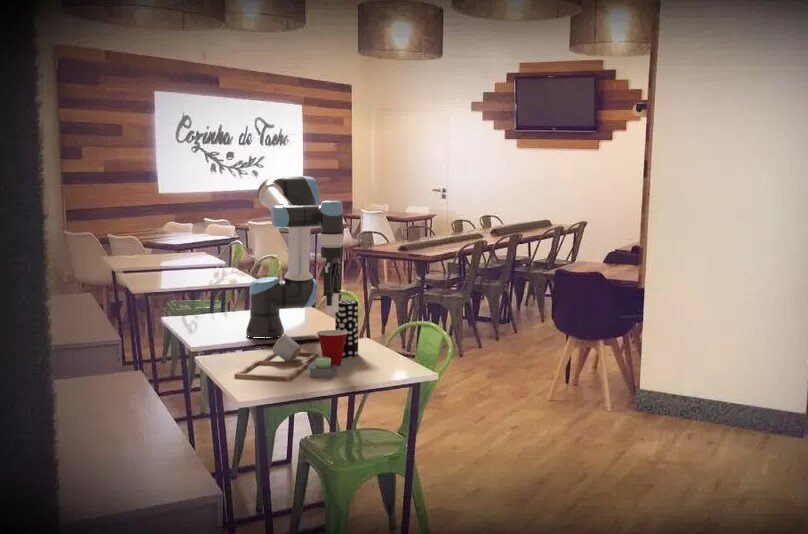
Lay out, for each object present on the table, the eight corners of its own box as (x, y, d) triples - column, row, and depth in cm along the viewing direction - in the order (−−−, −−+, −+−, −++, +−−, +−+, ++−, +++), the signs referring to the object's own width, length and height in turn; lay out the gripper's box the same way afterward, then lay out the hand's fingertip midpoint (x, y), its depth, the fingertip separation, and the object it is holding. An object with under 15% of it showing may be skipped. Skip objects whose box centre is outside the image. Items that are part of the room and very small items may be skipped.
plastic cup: (347, 360, 279) (347, 327, 278) (348, 368, 269) (348, 334, 267) (317, 361, 278) (316, 327, 277) (316, 369, 268) (316, 334, 266)
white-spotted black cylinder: (332, 354, 290) (332, 301, 288) (354, 352, 293) (354, 299, 291) (339, 359, 283) (339, 304, 280) (361, 357, 286) (361, 303, 283)
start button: (318, 363, 262) (318, 356, 262) (332, 364, 261) (332, 357, 261) (313, 367, 257) (313, 360, 257) (328, 368, 256) (328, 361, 256)
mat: (317, 359, 283) (317, 358, 283) (360, 361, 280) (360, 360, 280) (303, 370, 267) (303, 369, 267) (348, 373, 264) (348, 371, 264)
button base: (316, 373, 264) (316, 363, 263) (336, 374, 263) (336, 364, 262) (309, 378, 257) (309, 368, 257) (330, 379, 256) (330, 369, 255)
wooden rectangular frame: (272, 354, 290) (272, 350, 289) (321, 357, 286) (321, 353, 286) (234, 378, 256) (234, 374, 256) (289, 382, 253) (289, 377, 253)
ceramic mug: (287, 368, 276) (293, 354, 272) (269, 354, 278) (274, 340, 273) (304, 351, 285) (310, 338, 280) (286, 339, 286) (291, 325, 281)
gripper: (328, 243, 278) (329, 308, 281) (313, 248, 260) (313, 317, 263) (349, 243, 276) (349, 309, 279) (335, 249, 259) (335, 318, 262)
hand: (332, 313), depth 271 cm, fingers open, 5 cm apart
